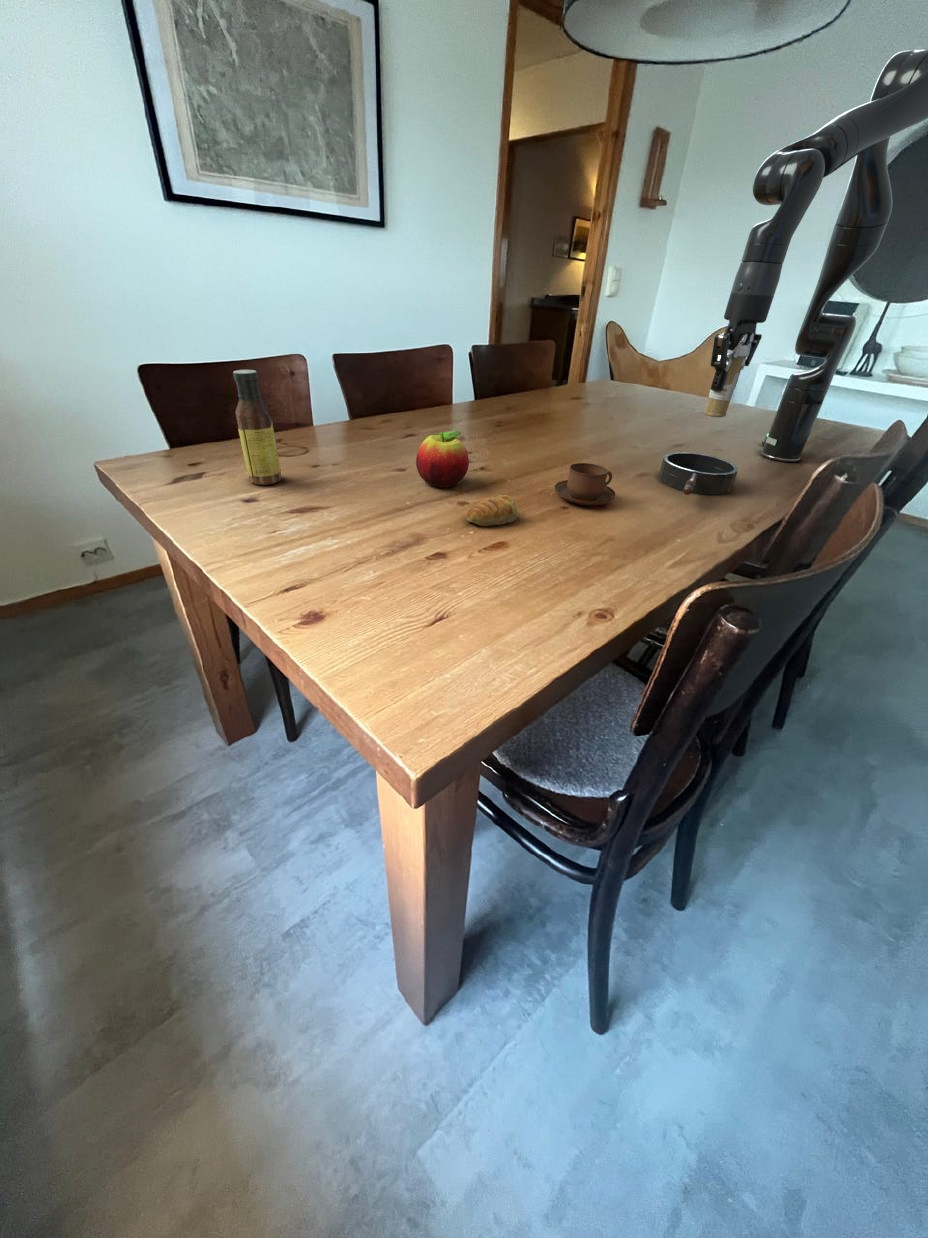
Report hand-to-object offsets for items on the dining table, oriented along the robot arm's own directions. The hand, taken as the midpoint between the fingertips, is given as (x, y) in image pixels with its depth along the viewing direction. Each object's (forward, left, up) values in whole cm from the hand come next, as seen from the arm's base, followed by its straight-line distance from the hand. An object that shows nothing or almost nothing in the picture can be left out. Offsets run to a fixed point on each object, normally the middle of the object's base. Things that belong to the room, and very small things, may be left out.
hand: (722, 389), depth 108 cm
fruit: (+17, -55, -20) cm, 61 cm away
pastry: (+33, -43, -20) cm, 58 cm away
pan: (0, 0, -20) cm, 20 cm away
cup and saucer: (+18, -26, -20) cm, 37 cm away
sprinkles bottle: (0, 0, -5) cm, 5 cm away
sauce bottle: (+26, -89, -20) cm, 95 cm away
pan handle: (+13, -4, -17) cm, 22 cm away
